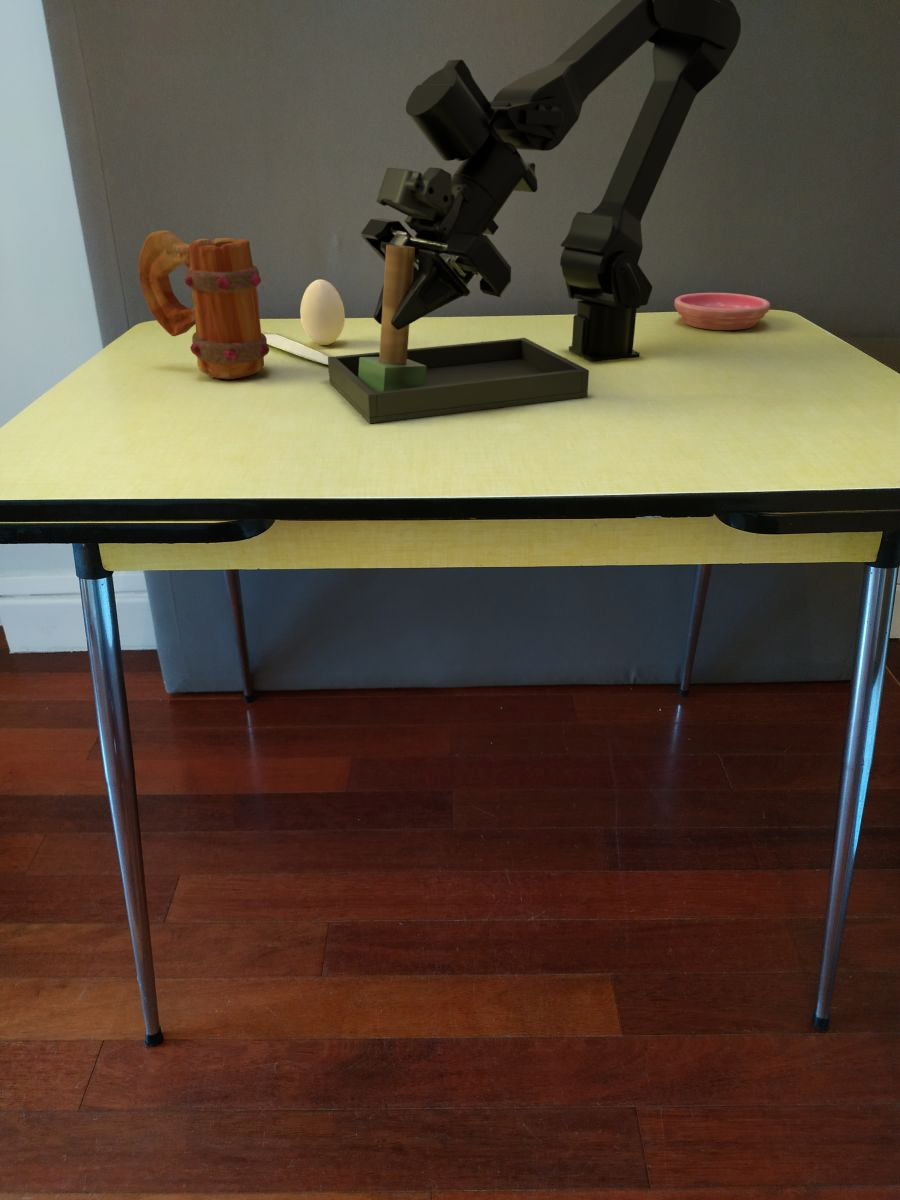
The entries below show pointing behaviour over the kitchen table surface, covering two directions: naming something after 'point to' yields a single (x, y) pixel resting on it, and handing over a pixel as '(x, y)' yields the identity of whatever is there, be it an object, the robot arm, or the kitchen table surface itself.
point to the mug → (208, 300)
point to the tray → (465, 380)
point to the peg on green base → (393, 330)
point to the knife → (294, 347)
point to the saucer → (721, 310)
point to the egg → (322, 312)
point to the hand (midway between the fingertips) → (385, 324)
